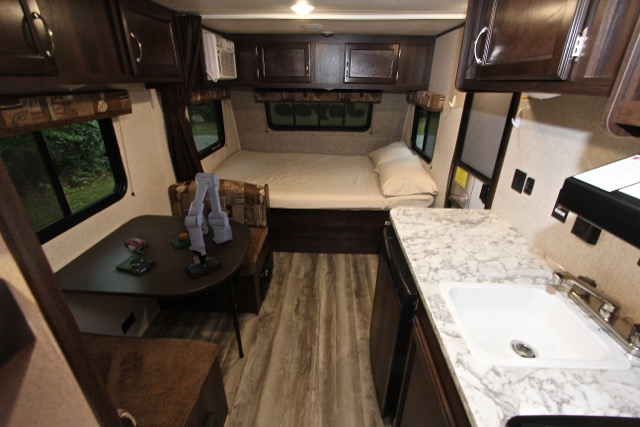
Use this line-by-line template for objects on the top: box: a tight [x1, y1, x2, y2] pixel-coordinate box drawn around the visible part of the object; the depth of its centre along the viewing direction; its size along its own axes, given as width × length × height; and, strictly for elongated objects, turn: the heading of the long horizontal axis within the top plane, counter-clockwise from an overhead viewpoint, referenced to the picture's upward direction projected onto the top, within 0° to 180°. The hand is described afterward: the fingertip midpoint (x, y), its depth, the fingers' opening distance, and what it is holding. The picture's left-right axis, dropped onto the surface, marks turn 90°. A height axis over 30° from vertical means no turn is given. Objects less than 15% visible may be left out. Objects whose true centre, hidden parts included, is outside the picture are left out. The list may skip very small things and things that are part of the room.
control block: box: [170, 233, 192, 250], centre depth 170 cm, size 12×10×4 cm
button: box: [178, 232, 188, 239], centre depth 169 cm, size 4×4×2 cm
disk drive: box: [114, 255, 156, 276], centre depth 147 cm, size 10×3×15 cm
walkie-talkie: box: [123, 236, 149, 255], centre depth 163 cm, size 9×4×20 cm
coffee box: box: [188, 207, 209, 235], centre depth 179 cm, size 9×6×16 cm
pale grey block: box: [193, 254, 208, 264], centre depth 147 cm, size 6×2×4 cm, turn 130°
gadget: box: [184, 254, 222, 279], centre depth 148 cm, size 14×12×3 cm
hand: (201, 260), depth 148 cm, fingers open, 6 cm apart
